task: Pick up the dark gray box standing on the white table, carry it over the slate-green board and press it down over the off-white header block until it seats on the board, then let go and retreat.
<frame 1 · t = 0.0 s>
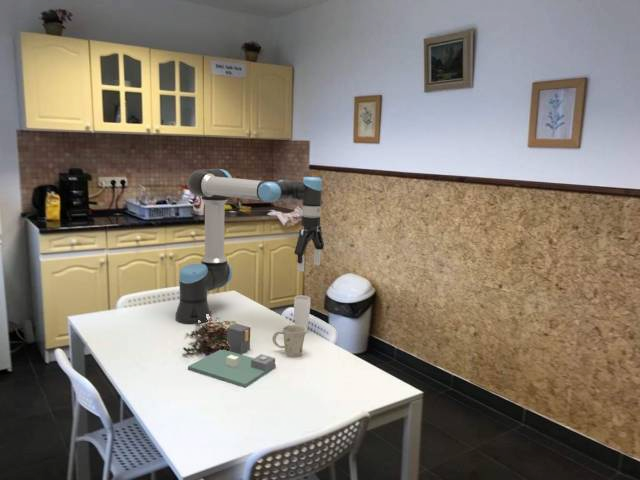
hand: (308, 267, 210), 28 cm above the table, fingers open, 13 cm apart
board: (232, 368, 179), on the table
drinking glass: (301, 332, 216), on the table
mug: (287, 353, 194), on the table
dark gray box: (238, 350, 195), on the table
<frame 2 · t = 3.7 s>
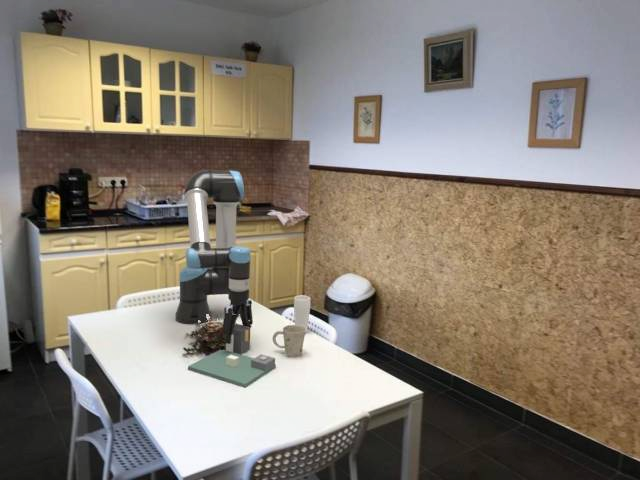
hand: (237, 347, 194), 1 cm above the table, fingers open, 8 cm apart
nothing on the table moved.
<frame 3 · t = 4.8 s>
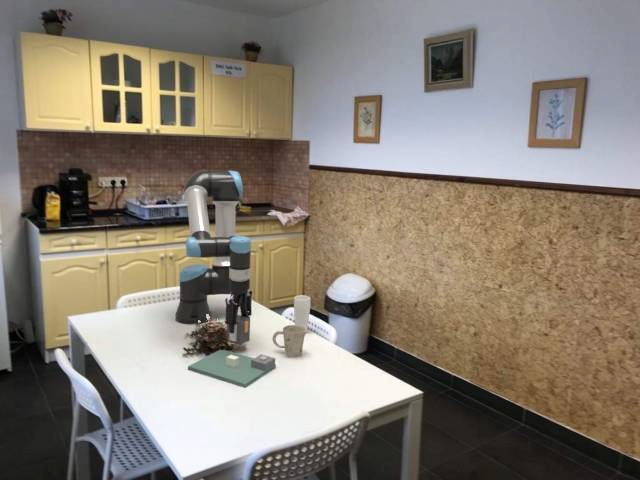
hand: (238, 337, 194), 5 cm above the table, fingers closed on dark gray box, 6 cm apart
dark gray box: (237, 340, 195), point 3 cm above the table, touching gripper
everything else where it was.
when the fingers open (2 cm above the table, at t = 8.6 s): dark gray box stays where it is, resting on board.
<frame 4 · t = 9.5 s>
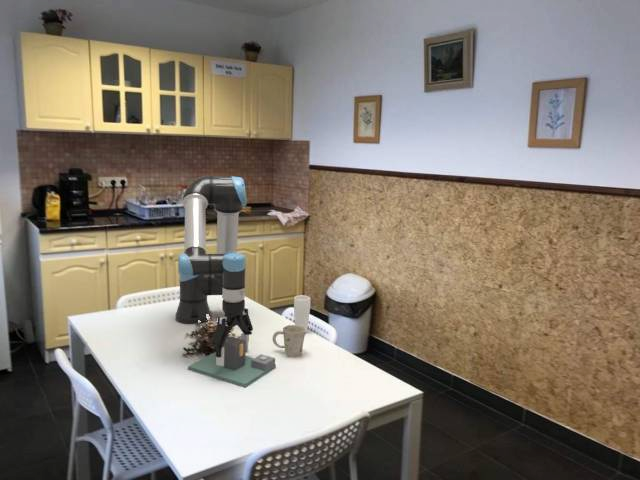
hand: (232, 358, 178), 4 cm above the table, fingers open, 13 cm apart
dark gray box: (232, 365, 178), point 1 cm above the table, touching board
everything else where it was.
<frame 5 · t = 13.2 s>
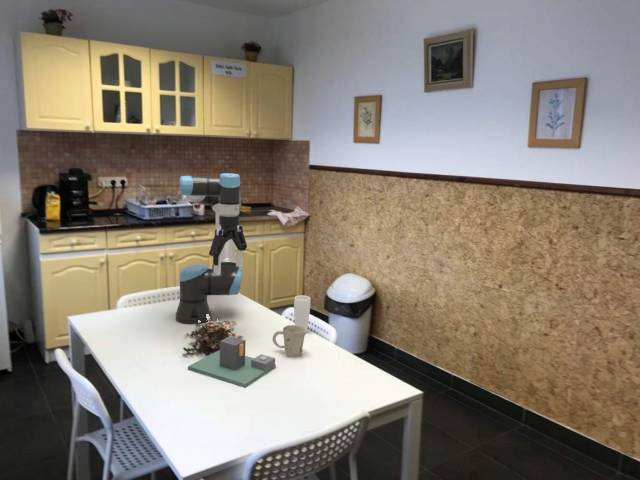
hand: (228, 270, 198), 29 cm above the table, fingers open, 13 cm apart
nothing on the table moved.
at the end: dark gray box 0.1 cm off-centre on the board, point 1.2 cm above the board's base; dark gray box tilted 0°; the gripper is holding nothing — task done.
